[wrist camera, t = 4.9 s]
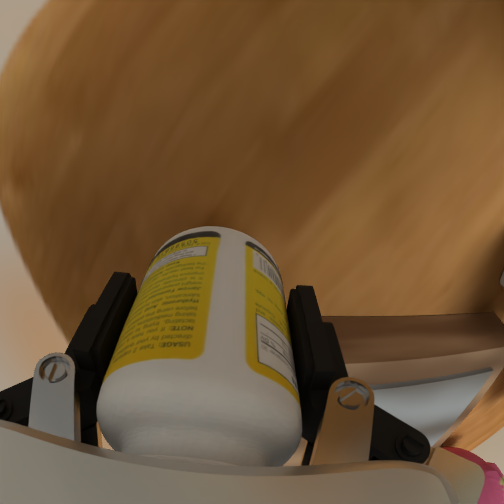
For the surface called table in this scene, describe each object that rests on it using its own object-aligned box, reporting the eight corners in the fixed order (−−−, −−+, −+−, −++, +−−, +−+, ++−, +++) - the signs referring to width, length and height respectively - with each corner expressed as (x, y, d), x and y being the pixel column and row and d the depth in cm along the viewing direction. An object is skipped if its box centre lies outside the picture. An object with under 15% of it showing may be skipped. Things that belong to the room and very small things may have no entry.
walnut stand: (310, 316, 19) (324, 370, 15) (493, 312, 20) (521, 347, 16) (274, 442, 27) (277, 482, 23) (419, 426, 28) (431, 458, 24)
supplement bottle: (140, 310, 14) (75, 520, 5) (168, 202, 12) (42, 470, 3) (252, 343, 15) (256, 553, 6) (304, 249, 13) (371, 516, 4)
